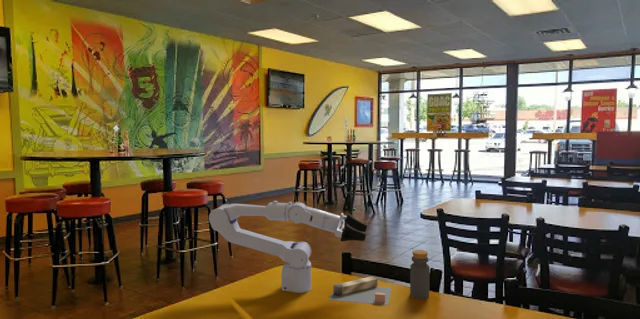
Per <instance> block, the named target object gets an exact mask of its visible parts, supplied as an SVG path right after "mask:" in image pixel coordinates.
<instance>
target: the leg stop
mask: <svg viewBox="0 0 640 319" xmlns="http://www.w3.org/2000/svg"><path fill="white" fill-rule="evenodd" d="M375 302H381V303H385V293H378V292H375Z"/></svg>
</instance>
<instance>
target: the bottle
mask: <svg viewBox="0 0 640 319" xmlns="http://www.w3.org/2000/svg"><path fill="white" fill-rule="evenodd" d="M428 254H429V252H428V251H427V250H423V249H415V250H412V255H411V261H412V263H411V264H410V271H409V272H410V273H409V275H410V276H409V280H410V281H409V282H410V283H409V286H410V287H409V293H410V294H409V295H410V296H411V298H414V299H419V300H423V299H428V298H429V297H430V272H431V271H430V265H429V264H428V262H429V257H428Z"/></svg>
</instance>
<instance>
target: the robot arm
mask: <svg viewBox="0 0 640 319" xmlns="http://www.w3.org/2000/svg"><path fill="white" fill-rule="evenodd" d="M240 217H265V218H266V219H267V220H268V221H284V222H289V221H291V222H293V223H294V224H301V223H302V224H305V225H308V226H310V227H313V228H317V229H321V230H323V231H327V232H330V233H334V236H335V237H336V238H340V242H349V241H359V242H365V240H366V238H367V234H366V233H365V232H366V231H367V228H368V225H367V224H365V223H363V222H362V221H360V220H359V219H357V218H355V217H354V216H353V215H352V214H351V213H347V215H346V214H345V215H344V213H343V212H341V214H340V215H339V214H335V213H332V212H329V211H328V212H327V211H325V210H322V209H318V208H316V207H315V208H314V207H311V206H307V205H306V204H305V203H303V202H300V201H296V202H293V201H288V202H278V200H273V201H272V202H269V203H268V204H267V205H260V204H259V205H256V204H247V203H246V204H245V203H230V204H229V203H224V204H222V205H220V206H219V207H217V208H215V209H213V210H211V211H210V213H209V215H208V219H209V220H208V221H209V223H210V226H211V228H212V230H214V231H216V232H217V233H219V234H220V235H221V236H222V237H223V239H225V241H227V242H229V243H231V244H235V245H238V246H242V247H245V248H248V249H253V250H255V251H257V252H258V251H259V252H261V253H266V254H269V255H272V256H276V257H279V258H280V259H281V260H282V261H283V262H285V264H284V265H283V266H282V269H281V274H280V275H281V291H286V292H293V293H297V294H298V293H299V294H300V293H302V294H303V293H307V292H310V291H311V290H312V262H311V261H310V259H309V258H310V257H311V255H312V248H311V247H312V246H310V244H308V242H305V241H297V242H296V241H293V240H290V241H289V240H288V241H286V240H285V241H284V240H281V239H279V238H274V237H270V236H267V235H264V234H260V233H257V232H253V231H250V230H246V229H244V228H243V229H242V228H241V227H240V225H239V223H238V218H240ZM286 263H287V264H286Z"/></svg>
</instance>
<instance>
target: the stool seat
mask: <svg viewBox="0 0 640 319" xmlns="http://www.w3.org/2000/svg"><path fill="white" fill-rule="evenodd" d="M375 292H378V293H385V303H381V302H375ZM391 292H392V287H384V286H375V287H371V288H367V289H363V290H359V291H355V292H351V293H347V294H343V295H334V294H333V292H331V294H330V296H329V298H328V301H337V302H338V301H339V302H348V303H356V304H357V303H359V304H368V305H369V304H370V305H381V306H388V305H389V301H390V297H391V294H392V293H391Z"/></svg>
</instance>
